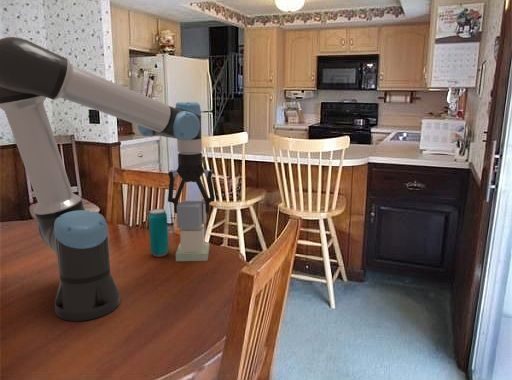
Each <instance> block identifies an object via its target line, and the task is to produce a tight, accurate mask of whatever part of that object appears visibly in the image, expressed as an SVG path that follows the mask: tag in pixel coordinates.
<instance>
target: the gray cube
mask: <svg viewBox="0 0 512 380" xmlns="http://www.w3.org/2000/svg"><path fill="white" fill-rule="evenodd" d="M180 202H181V203H180V204H179V205H177V213H176V222H177V223H176V224H177V225H176V227H177V229H182V228H196V229H199V228H200V227H201V226H202V224H205V223H204V221H203V202H205V201H203V200H181V201H180Z"/></svg>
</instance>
